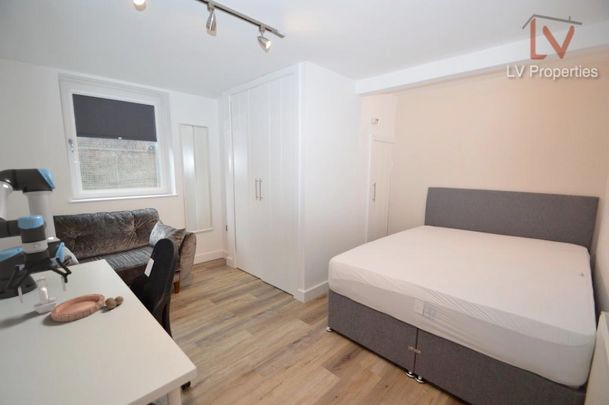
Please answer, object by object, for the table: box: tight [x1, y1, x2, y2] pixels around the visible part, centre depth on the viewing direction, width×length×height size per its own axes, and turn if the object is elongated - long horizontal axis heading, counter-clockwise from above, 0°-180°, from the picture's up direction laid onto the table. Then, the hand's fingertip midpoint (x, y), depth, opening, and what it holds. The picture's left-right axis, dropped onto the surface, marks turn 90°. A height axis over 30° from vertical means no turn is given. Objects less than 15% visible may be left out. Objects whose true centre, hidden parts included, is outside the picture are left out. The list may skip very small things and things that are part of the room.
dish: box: [50, 293, 106, 323], centre depth 116 cm, size 19×18×3 cm
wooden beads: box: [104, 296, 124, 310], centre depth 119 cm, size 7×7×4 cm
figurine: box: [33, 276, 58, 315], centre depth 116 cm, size 7×9×15 cm
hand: (44, 295), depth 116 cm, fingers open, 13 cm apart
